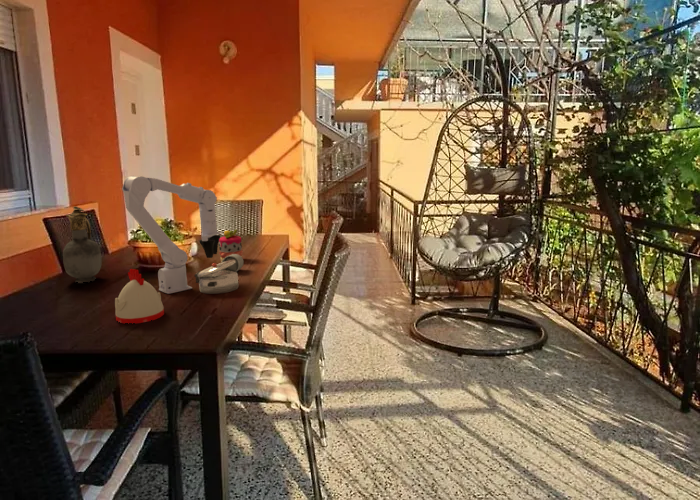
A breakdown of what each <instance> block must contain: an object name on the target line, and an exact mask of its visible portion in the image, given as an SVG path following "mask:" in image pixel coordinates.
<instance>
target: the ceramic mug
mask: <svg viewBox="0 0 700 500" xmlns="http://www.w3.org/2000/svg"><path fill="white" fill-rule="evenodd" d="M228 260H235V261H236V262H235V263H234V264H233V265H231V266H229V267H227V268H225V269H223V270H228V271H233V272H236V273H238V271H239V270H241V269H242V267H243V266H244V262H245V261H244V259H243V256H242V257H241V256H240V255H238V254H232V255H229V256H227V257H225V258H224V259H223V260H222V262H225V261H228ZM222 262H221V263H222ZM221 271H222V270H221Z"/></svg>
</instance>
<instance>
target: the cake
mask: <svg viewBox="0 0 700 500" xmlns="http://www.w3.org/2000/svg"><path fill="white" fill-rule="evenodd" d="M237 234H238V229H237V228H236V229H235V230H234V231H233V230H224V232H223V235H224V236H220V239H219V242H218V247H219V253H218V255H220V263H222V260H223V259H224V258H225V257H227V256H229V255H232V254H238V255H240V256H241V257H242V258H243V254H244V251H243V246H242V237H241V236H239V235H237Z"/></svg>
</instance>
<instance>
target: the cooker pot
mask: <svg viewBox="0 0 700 500" xmlns="http://www.w3.org/2000/svg"><path fill="white" fill-rule="evenodd" d="M238 275H239V274H238V272H233V271H228V270H222V271H218V272H216V273H213V274H210V275H207V276H203V277H195V283H196V284H198V286H199V291H200V293H203V294H208V295H210V294H211V295H212V294H213V295H215V294H225V293H229V292H233V291H237V290H238V288H239V276H238Z"/></svg>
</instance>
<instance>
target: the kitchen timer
mask: <svg viewBox="0 0 700 500" xmlns="http://www.w3.org/2000/svg"><path fill="white" fill-rule="evenodd" d="M127 276H128V278H129V282H127V283H126V284H125V286H123V288H122V289H121V291H120V292H119V295H118V297H115V298H114V307H115V321H116V322H117V321H118V323H119V322H120V324H125V323H128V324H129V323H132V324H133V323H135V324H141V323H146V322H151V320H152V321H155V320H157V319H160V318H161V317H163V316H164V315H165V307H164V305H163V302H162V296H161V294H162V293H161V291H160V292H158V291H157V290H156V288H155V287H154V286H153V285H152V284H151V283H150V282H147V281H146V280H145V278H142V273H139V269H137V268H130V269H129V271H128V272H127ZM129 325H130V324H129Z"/></svg>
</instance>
